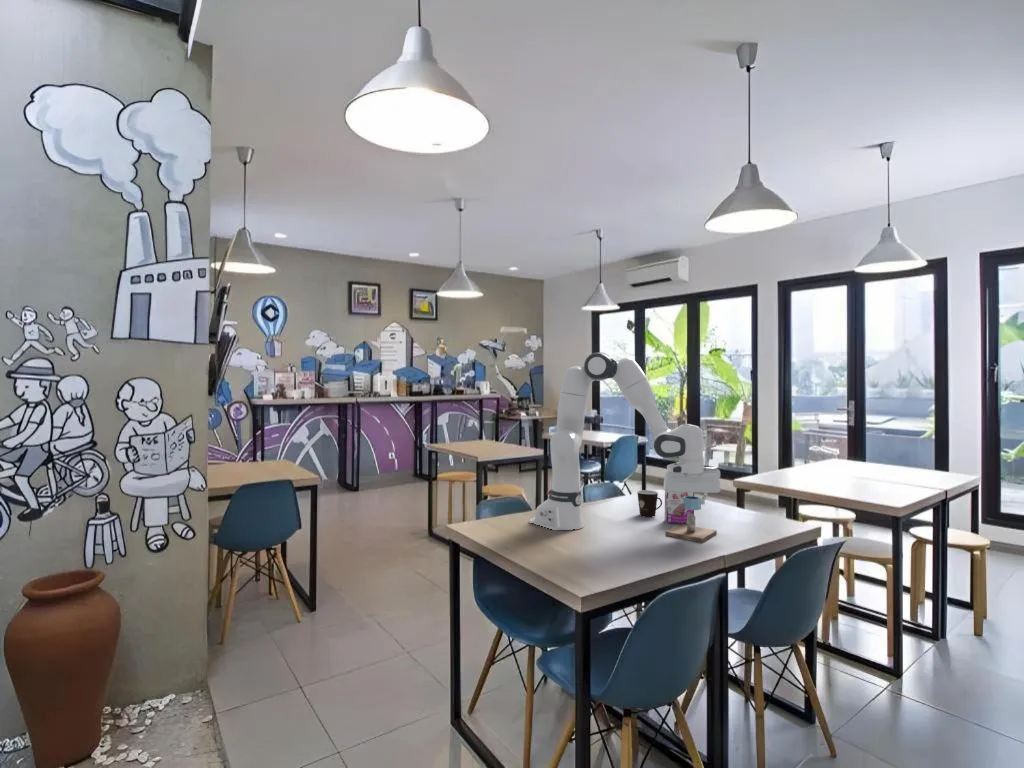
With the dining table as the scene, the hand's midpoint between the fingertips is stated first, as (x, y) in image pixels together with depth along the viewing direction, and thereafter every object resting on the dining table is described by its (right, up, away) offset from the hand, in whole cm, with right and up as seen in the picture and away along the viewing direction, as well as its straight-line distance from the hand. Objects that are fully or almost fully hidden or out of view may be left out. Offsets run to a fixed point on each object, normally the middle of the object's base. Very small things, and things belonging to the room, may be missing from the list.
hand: (691, 504), depth 201 cm
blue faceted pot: (0, -2, 0) cm, 2 cm away
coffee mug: (-9, -12, +29) cm, 32 cm away
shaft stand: (0, -12, 0) cm, 12 cm away
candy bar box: (+1, -12, +19) cm, 22 cm away
